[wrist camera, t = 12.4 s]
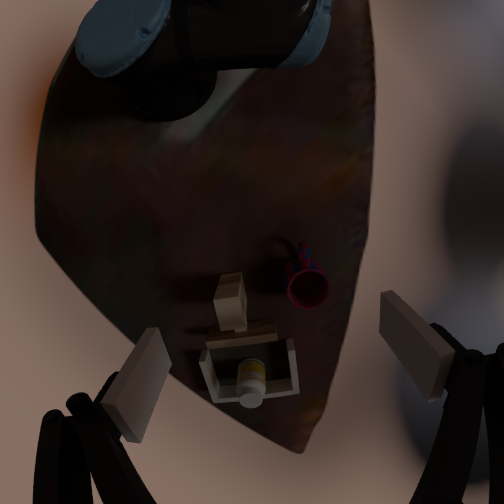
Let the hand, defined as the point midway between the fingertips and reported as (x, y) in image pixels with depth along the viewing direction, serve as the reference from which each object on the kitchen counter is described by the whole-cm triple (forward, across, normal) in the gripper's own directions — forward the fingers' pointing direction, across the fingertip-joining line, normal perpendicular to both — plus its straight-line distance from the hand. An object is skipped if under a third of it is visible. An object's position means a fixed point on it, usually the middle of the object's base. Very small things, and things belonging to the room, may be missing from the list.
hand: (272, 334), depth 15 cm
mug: (+31, +6, -7) cm, 32 cm away
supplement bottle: (+31, -6, -27) cm, 41 cm away
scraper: (+31, -6, -12) cm, 34 cm away
